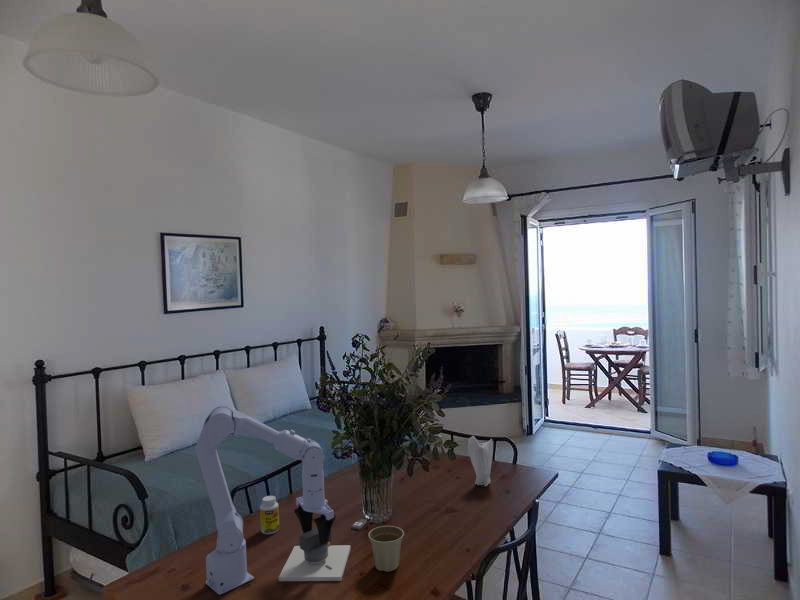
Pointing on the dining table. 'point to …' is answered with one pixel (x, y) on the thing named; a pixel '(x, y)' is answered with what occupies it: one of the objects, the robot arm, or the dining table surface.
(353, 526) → the key chain
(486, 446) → the white vase
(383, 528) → the flower pot
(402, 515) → the dining table surface
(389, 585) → the dining table surface
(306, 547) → the dark grey blocky piece
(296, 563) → the post base
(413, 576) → the dining table surface
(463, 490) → the dining table surface
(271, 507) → the supplement bottle
